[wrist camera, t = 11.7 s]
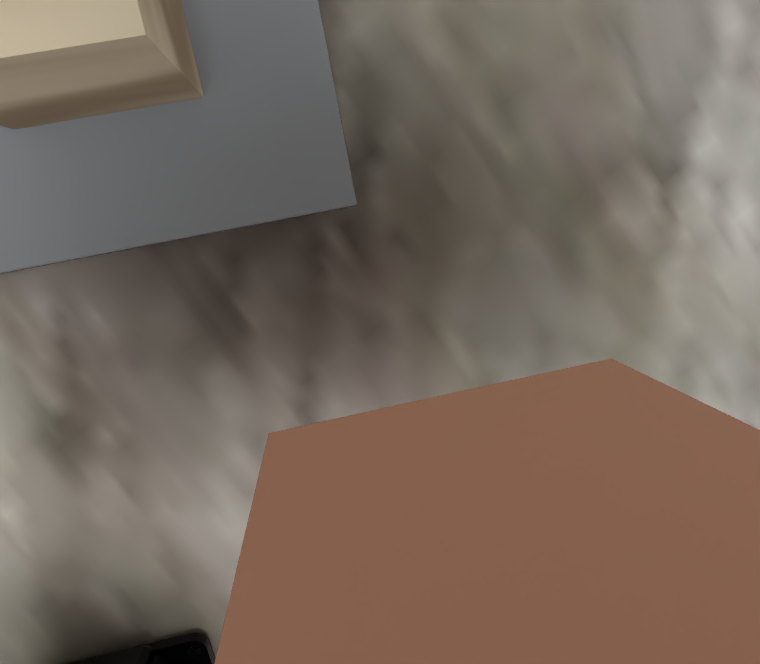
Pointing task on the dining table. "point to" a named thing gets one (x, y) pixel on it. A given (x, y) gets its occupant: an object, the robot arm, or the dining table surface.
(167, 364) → the dining table surface
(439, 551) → the terracotta cube
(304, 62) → the slate board
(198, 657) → the robot arm
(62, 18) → the birch cube
